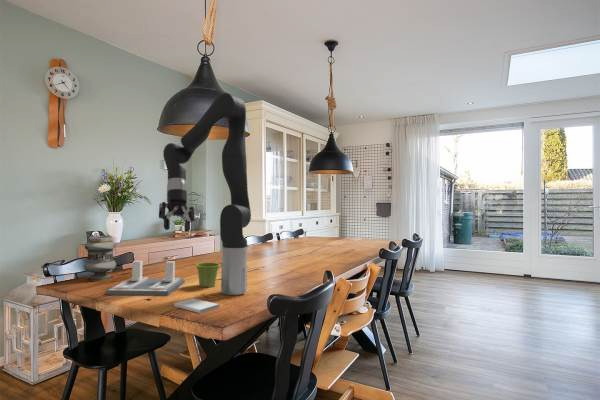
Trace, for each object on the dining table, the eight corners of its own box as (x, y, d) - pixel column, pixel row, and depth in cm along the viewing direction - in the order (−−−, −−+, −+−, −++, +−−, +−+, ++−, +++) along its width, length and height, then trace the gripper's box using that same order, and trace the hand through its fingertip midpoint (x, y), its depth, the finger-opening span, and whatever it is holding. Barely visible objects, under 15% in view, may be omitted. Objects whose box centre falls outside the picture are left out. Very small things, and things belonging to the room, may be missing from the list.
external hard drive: (199, 315, 110) (173, 307, 117) (219, 308, 117) (193, 302, 124) (200, 309, 110) (173, 302, 117) (219, 303, 117) (193, 297, 124)
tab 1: (143, 279, 147) (143, 260, 147) (139, 281, 143) (139, 262, 143) (135, 279, 147) (135, 260, 147) (130, 281, 143) (131, 261, 143)
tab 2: (175, 279, 147) (175, 261, 147) (172, 281, 143) (172, 262, 143) (167, 279, 147) (167, 260, 147) (164, 281, 143) (164, 262, 143)
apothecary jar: (76, 280, 151) (78, 236, 151) (100, 274, 162) (102, 234, 162) (99, 282, 147) (100, 238, 147) (122, 277, 158) (123, 236, 159)
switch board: (184, 282, 151) (185, 277, 151) (168, 295, 130) (168, 289, 130) (131, 281, 150) (131, 276, 150) (105, 294, 129) (106, 288, 129)
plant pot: (224, 285, 147) (224, 264, 147) (206, 289, 139) (206, 267, 140) (208, 282, 153) (209, 261, 153) (190, 286, 145) (191, 264, 145)
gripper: (165, 185, 137) (165, 226, 133) (197, 191, 148) (198, 230, 143) (155, 190, 142) (155, 231, 137) (187, 196, 152) (187, 234, 148)
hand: (177, 230), depth 140 cm, fingers open, 8 cm apart
